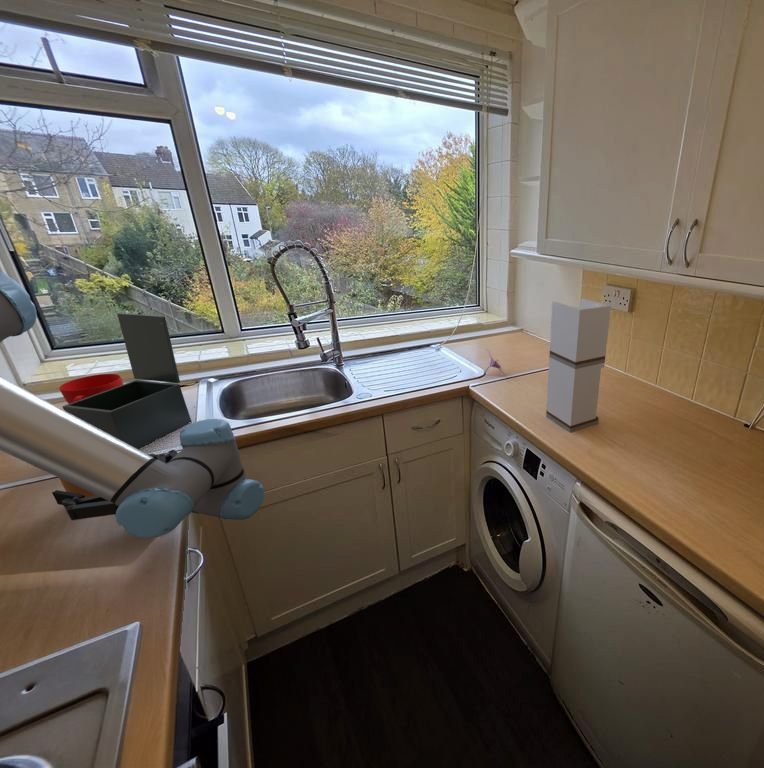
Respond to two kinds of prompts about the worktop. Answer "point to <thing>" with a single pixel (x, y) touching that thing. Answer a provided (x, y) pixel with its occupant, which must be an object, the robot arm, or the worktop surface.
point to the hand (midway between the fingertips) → (97, 476)
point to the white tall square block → (576, 362)
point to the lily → (494, 364)
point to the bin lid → (149, 347)
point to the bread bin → (135, 411)
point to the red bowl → (89, 386)
